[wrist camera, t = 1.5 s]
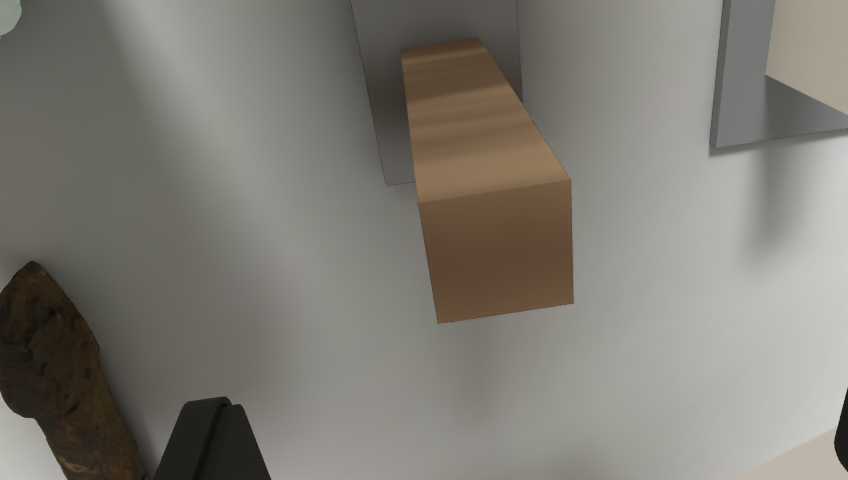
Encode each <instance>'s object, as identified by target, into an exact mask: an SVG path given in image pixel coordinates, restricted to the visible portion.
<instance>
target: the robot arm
mask: <svg viewBox="0 0 848 480" xmlns="http://www.w3.org/2000/svg"><path fill="white" fill-rule="evenodd" d="M834 445H835V451H836V454H837V456H838V459H839V461H840V462H841V464H842V465H843V467H844V468H845V469H846V470H847V472H848V389H847V392H846V396H845V400H844V404H843V408H842V412H841V416H840V420H839V423H838V427H837V431H836V435H835V441H834ZM153 480H271V478H270V475H269V473H268V470H267V468H266V465H265V462H264V460H263V457H262V455H261V452H260V449H259V447H258V444H257V442H256V439H255V437H254V434H253V431H252V429H251V426H250V424H249V421H248V418H247V416H246V413H245V411H244V409H243V407H242V406H241V405H240V404H236V405H232V404H231V402H230V400H229V399H228V398H227V397H216V398H210V399H203V400H196V401H189V402H187V403H186V404H184V406H183V408H182V410H181V412H180V414H179V417H178V419H177V422H176V424H175V427H174V429H173V432H172V434H171V437H170V439H169V442H168V444H167V447H166V449H165V451H164V454H163V456H162V459H161V461H160V464H159V466H158V469H157V471H156V474H155V476H154V479H153Z"/></svg>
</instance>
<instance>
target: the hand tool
mask: <svg viewBox="0 0 848 480" xmlns="http://www.w3.org/2000/svg"><path fill="white" fill-rule="evenodd" d="M99 348H100V347H99V345H98V343H97V341H96V339H95V337H94V335H93V333H92V331H91V330H90V328H89V326H88V325H87V323H86V322H85V320H84V318H83V317H82V316H81V314H80V313H79V312H78V310H77V309H76V308H75V306H74V305H73V303H72V302H71V301H70V300H69V298H68V297H67V296H66V294H65V293H64V292H63V291H62V290H61V289H60V288H59V286H58V285H57V284H56V283H55V281H54V280H53V279H52V278H51V277H50V276H49V275H48V274H47V273H46V272H45V271H44V270H43V269H42V268H41V267H40V265H39V264H37V263H35V262H33V261H30V262H29V263H28V264H26V265H25V266H24V267H23V268H22V269H20V270H19V271H18V272H17V273H16V274H15V275H14V276H13V278H12V279H11V281H10V282H9V283H8V284H7V285H6V286H5V288H4V289H3V290H2V292H1V293H0V392H1V395H2V397H3V399H4V401H5V403H6V404H7V405H8V407H9V408H10V409H11V410H12V411H13V412H14V413H16V414H18V415H20V416H22V417H24V418H34V419H35V420H36V421H37V423H38V425H39V426H40V427H41V429H42V431H43V432H44V434H45V436H46V440H47V442H48V444H49V446H50V448H51V450H52V452H53V454H54V456H55V458H56V460H57V461H58V463H59V465H60V466H61V468H62V471H63V473H64V475H65V476H66V478H67V480H151V479H150V478H149V476H148V474H147V473H146V472H145V470H144V468H143V466H142V463H141V460H140V458H139V456H138V453H137V445H136V441H134V440H133V439H131V437H130V435H129V433H128V430H127V428H126V425H125V422H124V421H123V419H122V418H121V416H120V414H119V412H118V410H117V407H116V405H115V403H114V401H113V398H112V396H111V393H110V391H109V389H108V387H107V385H106V382H105V380H104V378H103V376H102V374H101V372H100V364H99V358H98V353H99Z"/></svg>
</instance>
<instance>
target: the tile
mask: <svg viewBox="0 0 848 480" xmlns="http://www.w3.org/2000/svg"><path fill="white" fill-rule="evenodd" d="M765 75H767V76H769V77H771V78H773V79H775V80H778V81H780V82H782V83H784V84H786V85H788V86H790V87H792V88H794V89H796V90H798V91H800V92H802V93H804V94H806V95H808V96H810V97H812V98H814V99H816V100H818V101H820V102H822V103H824V104H826V105H828V106H831V107H833V108H835V109H837V110H839V111H841V112H843V113H845V114H847V115H848V0H776V1H775V8H774V15H773V22H772V29H771V36H770V43H769V51H768V58H767V65H766V72H765Z"/></svg>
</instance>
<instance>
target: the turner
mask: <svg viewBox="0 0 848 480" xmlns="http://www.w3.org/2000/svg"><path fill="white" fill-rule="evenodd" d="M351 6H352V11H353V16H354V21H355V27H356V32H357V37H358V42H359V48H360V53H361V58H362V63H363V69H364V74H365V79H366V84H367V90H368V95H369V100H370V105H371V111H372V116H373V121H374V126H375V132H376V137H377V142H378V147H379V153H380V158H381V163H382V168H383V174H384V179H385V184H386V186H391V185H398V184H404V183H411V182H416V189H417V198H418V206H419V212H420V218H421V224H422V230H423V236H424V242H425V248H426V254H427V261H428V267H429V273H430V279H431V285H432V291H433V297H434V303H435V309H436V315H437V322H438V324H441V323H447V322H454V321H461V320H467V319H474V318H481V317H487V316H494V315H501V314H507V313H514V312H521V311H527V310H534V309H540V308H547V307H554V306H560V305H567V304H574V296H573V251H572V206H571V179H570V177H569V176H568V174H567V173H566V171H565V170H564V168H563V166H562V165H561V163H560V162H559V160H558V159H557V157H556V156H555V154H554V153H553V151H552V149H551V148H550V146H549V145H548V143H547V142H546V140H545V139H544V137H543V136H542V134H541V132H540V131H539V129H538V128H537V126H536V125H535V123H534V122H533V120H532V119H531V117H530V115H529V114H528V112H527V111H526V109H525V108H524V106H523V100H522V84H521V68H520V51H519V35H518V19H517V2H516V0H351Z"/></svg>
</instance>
